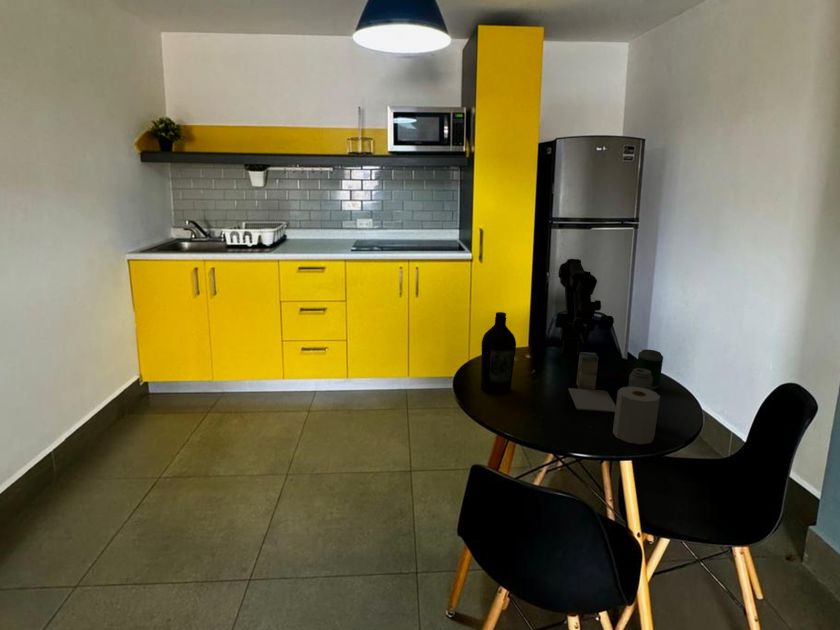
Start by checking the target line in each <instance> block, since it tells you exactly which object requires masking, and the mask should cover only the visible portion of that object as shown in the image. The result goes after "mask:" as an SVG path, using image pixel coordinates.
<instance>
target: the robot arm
mask: <svg viewBox="0 0 840 630" xmlns="http://www.w3.org/2000/svg"><path fill="white" fill-rule="evenodd" d="M557 275H558V278H559V282H560V284H561V285H562V286H563V288H564V298H565V299H564V301H565V313H564V312H558V313H557V314H556V316H555V319H554V328H557V329H558V328H559V329H560V330H559V332H558V333H559V335H558V336H559V337H558V338H559V339H560V341H562V348H561V351H560V352H559V353H558V356H562V357H564V358H565V357H566V358H570V359H577V357H578V358H579V355H580V352H578V351H579V342H582V343H583V345H587V344H588V343H587V342H588V340H589V337H590V332H594V331H595V329H596V327H597V328H598V330H600V331H610V330H611V329H612V327H613V325H614V323H615V318H614V317H613V316H612V315H604V314H601V316H600V317H599V318H593V317H594V316H595V312H596V311H600V310H601V309H602V301H601V300H596V299H595V300H594V301H592V298H591V297H592V295H593V294H594V291H595V288H596V287H597V285H598V279H597V278H596V277H595V276H594V275H593V274H591V271H586V270H585V269H584V267H583V265H582V260H581V259H579V258H567V260H566V262H563V263H561V264H560V266H559V269H558V273H557Z"/></svg>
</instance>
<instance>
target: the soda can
mask: <svg viewBox="0 0 840 630" xmlns="http://www.w3.org/2000/svg"><path fill="white" fill-rule="evenodd" d="M663 363H664V356H663V354H662V352H661V351H658V350H654V349H642V350H641V351H640V352H638V356H637V362H636V368H644V369H647V370H650V371H651V375H652V377H653V381H652V388H651V391H655V390H656V389H658V388H659V387H660V383H661V382H660V381H661V374H662V369H663V368H662V367H663ZM654 389H655V390H654Z"/></svg>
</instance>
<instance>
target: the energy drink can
mask: <svg viewBox="0 0 840 630" xmlns="http://www.w3.org/2000/svg"><path fill="white" fill-rule="evenodd" d="M628 378H629V379H628V384H627V387H631V386H632V387H640V388H645V389H648V390H651V388H652V381H653V377H652V375H651V371H650V370H647V369H644V368H637V367H635V368H632V371H631V372H630V374H629V377H628ZM651 391H652V390H651Z"/></svg>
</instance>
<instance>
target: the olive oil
mask: <svg viewBox="0 0 840 630" xmlns="http://www.w3.org/2000/svg"><path fill="white" fill-rule="evenodd" d="M516 348H517V340H516V337H515V335H514V334H513V332H512V331H511V330H510V329H509V328H508V327H507V313H506V312H503V311H499V312H497V311H496V312H495V318H494V325H493V326H492V327H491V328H489V329H488V330H487V331H486V332H485V333H484V334H483V337H482V339H481V364H480V365H481V366H480V368H481V370H480V371H481V373H480V390H481V392H483V393H486V394H488V395H494V396H503V395H504V396H505V395H507V394H509V393H511V389H512V382H513V381H512V380H513V371H514V364H515V363H514V362H515V357H516V350H517V349H516Z"/></svg>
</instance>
